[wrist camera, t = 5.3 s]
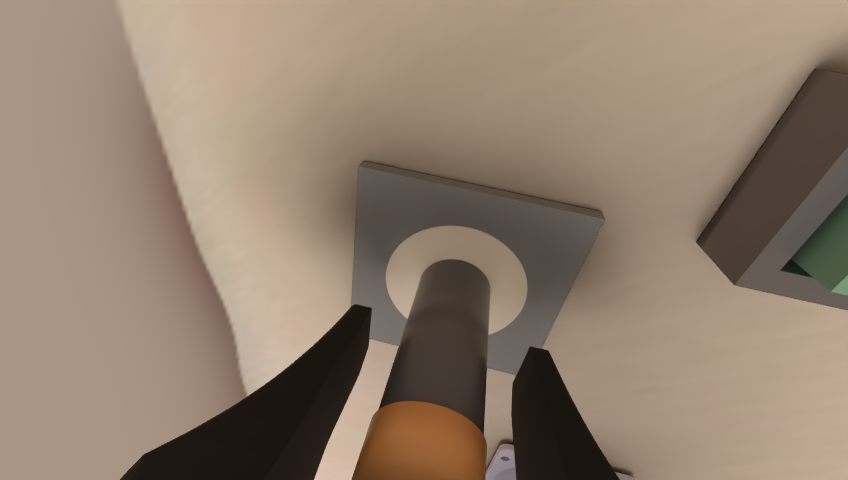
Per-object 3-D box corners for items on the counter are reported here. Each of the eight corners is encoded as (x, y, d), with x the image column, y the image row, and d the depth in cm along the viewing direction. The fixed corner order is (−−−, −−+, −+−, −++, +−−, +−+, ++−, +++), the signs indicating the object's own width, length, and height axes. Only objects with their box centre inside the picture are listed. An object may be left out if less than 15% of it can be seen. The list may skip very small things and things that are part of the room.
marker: (482, 324, 16) (467, 544, 9) (413, 306, 16) (348, 509, 9) (501, 267, 14) (500, 489, 7) (423, 249, 14) (353, 447, 8)
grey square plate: (525, 367, 18) (526, 379, 17) (353, 325, 18) (348, 335, 18) (601, 211, 13) (606, 220, 12) (363, 160, 14) (357, 167, 13)
